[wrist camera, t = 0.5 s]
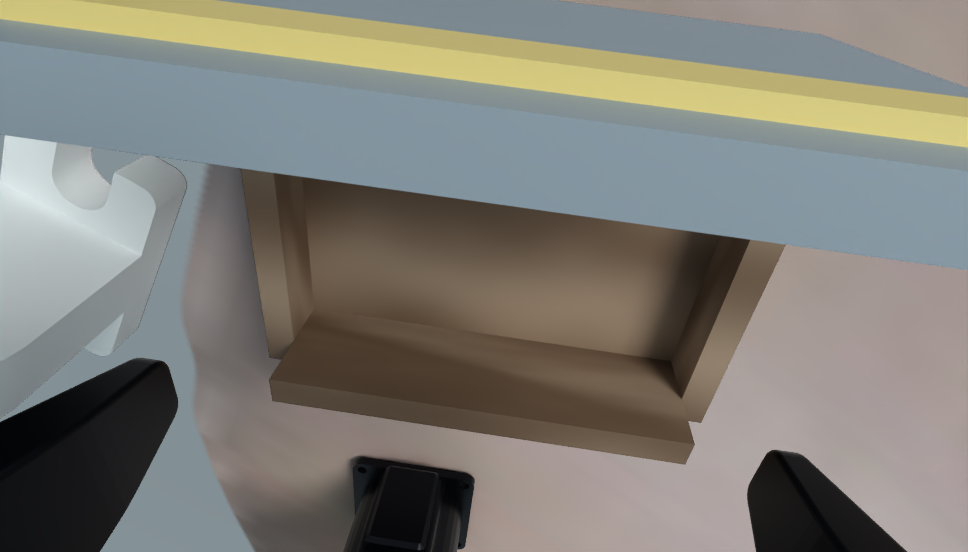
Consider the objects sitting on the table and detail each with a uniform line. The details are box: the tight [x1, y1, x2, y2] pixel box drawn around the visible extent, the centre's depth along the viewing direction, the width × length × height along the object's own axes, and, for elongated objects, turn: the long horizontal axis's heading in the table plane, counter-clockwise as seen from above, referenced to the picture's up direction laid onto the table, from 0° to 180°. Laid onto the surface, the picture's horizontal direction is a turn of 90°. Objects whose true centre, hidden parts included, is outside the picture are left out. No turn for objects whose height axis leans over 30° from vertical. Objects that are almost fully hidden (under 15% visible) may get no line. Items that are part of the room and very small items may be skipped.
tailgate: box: [0, 0, 968, 270], centre depth 10 cm, size 1×15×11 cm, turn 84°
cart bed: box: [240, 168, 785, 464], centre depth 17 cm, size 11×16×6 cm
